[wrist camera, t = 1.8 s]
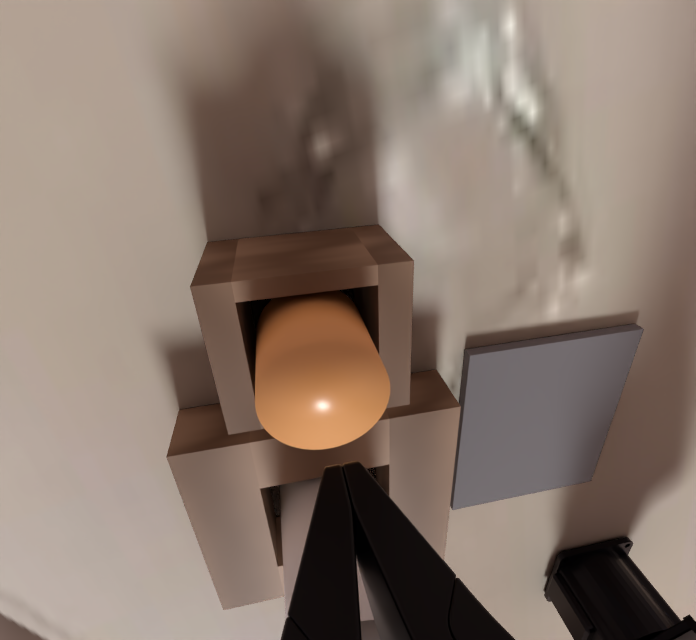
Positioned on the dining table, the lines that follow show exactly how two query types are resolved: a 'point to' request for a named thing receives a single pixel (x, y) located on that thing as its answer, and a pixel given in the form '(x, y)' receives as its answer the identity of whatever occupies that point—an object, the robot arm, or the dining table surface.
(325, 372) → the release button
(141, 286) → the dining table surface
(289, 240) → the socket block
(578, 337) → the mat
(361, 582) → the cylinder
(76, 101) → the dining table surface
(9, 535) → the dining table surface
